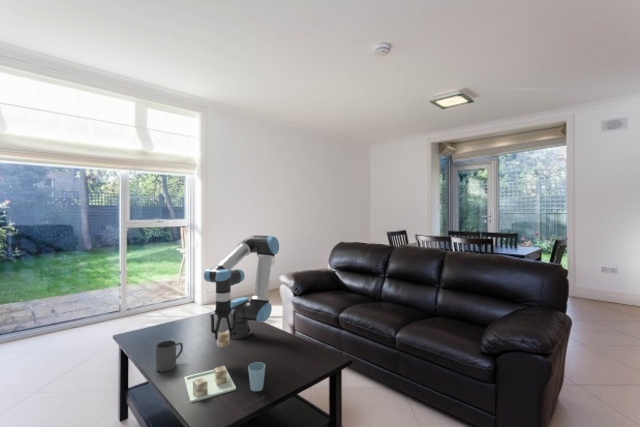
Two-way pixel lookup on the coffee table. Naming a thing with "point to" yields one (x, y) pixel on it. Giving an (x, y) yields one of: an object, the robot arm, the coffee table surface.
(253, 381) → the cup
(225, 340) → the oak block
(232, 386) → the tray
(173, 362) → the mug
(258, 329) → the coffee table surface
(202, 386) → the maple block
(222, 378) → the beech block
